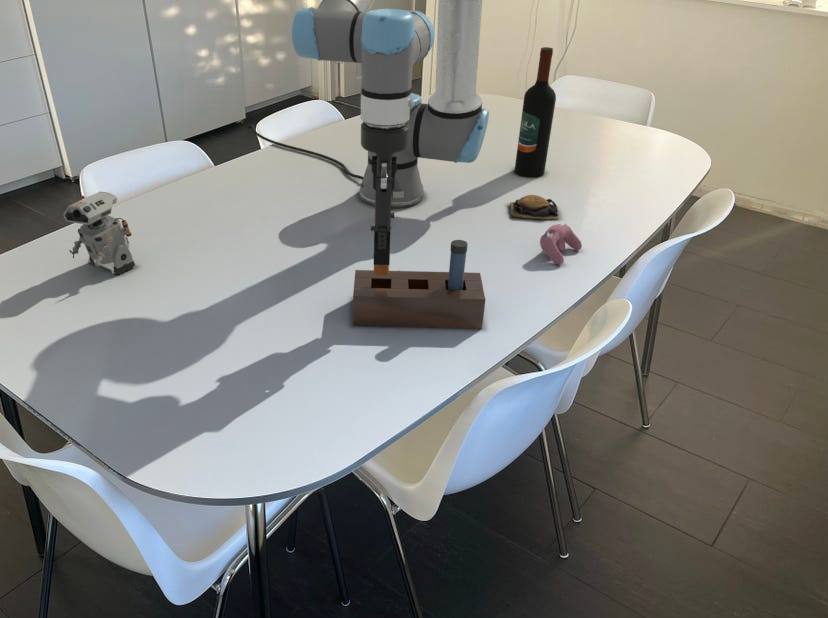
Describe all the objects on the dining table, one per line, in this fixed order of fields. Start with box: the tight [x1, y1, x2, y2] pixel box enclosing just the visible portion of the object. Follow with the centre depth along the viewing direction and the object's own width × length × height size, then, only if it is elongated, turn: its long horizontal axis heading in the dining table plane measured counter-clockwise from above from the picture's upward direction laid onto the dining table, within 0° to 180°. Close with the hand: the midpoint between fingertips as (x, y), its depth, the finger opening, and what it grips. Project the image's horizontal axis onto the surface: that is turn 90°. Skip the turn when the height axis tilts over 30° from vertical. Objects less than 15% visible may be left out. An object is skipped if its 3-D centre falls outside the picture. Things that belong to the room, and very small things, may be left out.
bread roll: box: [509, 194, 559, 221], centre depth 167 cm, size 11×8×4 cm
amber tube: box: [373, 194, 392, 276], centre depth 123 cm, size 3×3×14 cm
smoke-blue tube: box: [448, 239, 468, 290], centre depth 127 cm, size 3×3×14 cm
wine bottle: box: [514, 46, 557, 179], centre depth 180 cm, size 8×8×30 cm
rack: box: [352, 269, 486, 330], centre depth 130 cm, size 10×22×6 cm, turn 87°
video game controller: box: [539, 223, 583, 266], centre depth 149 cm, size 10×5×7 cm, turn 141°
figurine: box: [62, 191, 136, 276], centre depth 141 cm, size 9×12×15 cm
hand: (381, 259), depth 126 cm, fingers closed on amber tube, 2 cm apart
